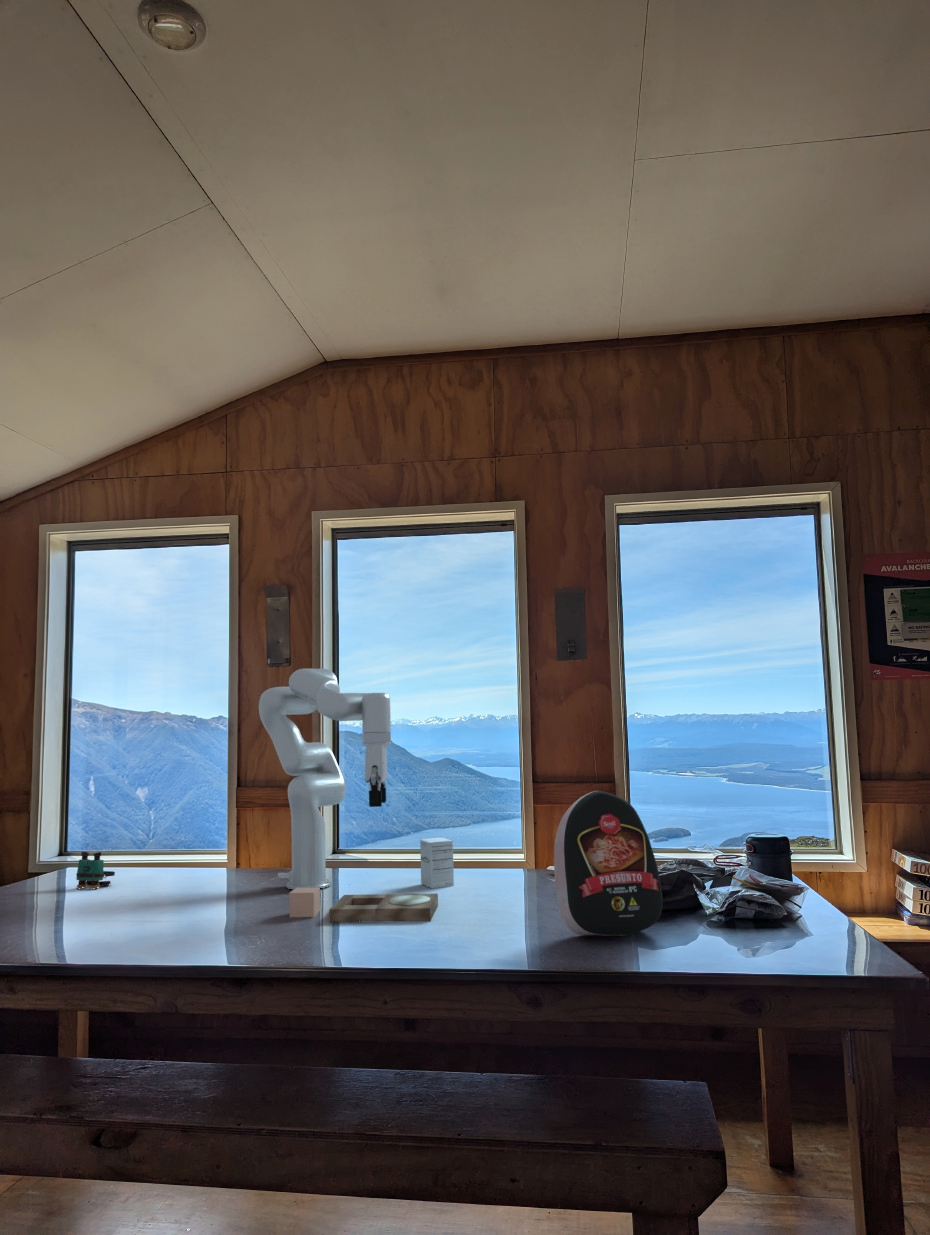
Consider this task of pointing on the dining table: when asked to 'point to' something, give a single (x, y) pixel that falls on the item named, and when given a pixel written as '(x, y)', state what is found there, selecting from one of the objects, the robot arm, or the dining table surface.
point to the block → (304, 902)
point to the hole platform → (384, 907)
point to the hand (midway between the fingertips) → (377, 804)
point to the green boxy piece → (92, 871)
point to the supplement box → (437, 862)
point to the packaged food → (605, 868)
